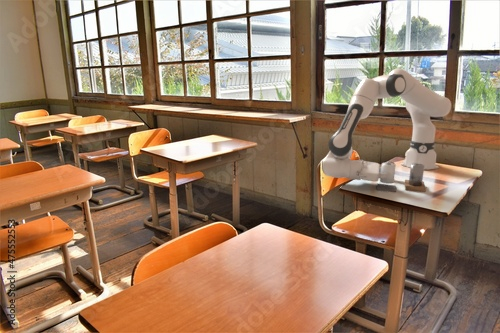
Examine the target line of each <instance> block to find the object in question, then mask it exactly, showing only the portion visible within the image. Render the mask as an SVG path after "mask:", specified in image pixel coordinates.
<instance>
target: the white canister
mask: <svg viewBox="0 0 500 333" xmlns="http://www.w3.org/2000/svg"><path fill="white" fill-rule="evenodd" d="M381 164H382V166H381V173H390V177H389V178H387V177H385V178H379V181H380V182H379V183H381V184H386V185H392V184H394V182H395V174H396V167H397V166H396V163H395V164H393V163H391V162H389V161H386V162H382V163H381Z"/></svg>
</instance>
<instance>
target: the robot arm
mask: <svg viewBox="0 0 500 333" xmlns="http://www.w3.org/2000/svg"><path fill="white" fill-rule="evenodd" d="M395 97H400V98H401V99H402V100H403V101H405V109H406V111H407V112H408V113H409V115H410V118H411V121H412V135H411V140H410V145H409V146H410V147H409V149H408V150H406V152H405V155H404V156H405V157H404V159H403V161H402V162H401V163H400V165H401V166H404V167H407V168H410V169H411V164H422V165H424V171H425V170H429V171H430V170H434V169H436V170H437V169H439V168H440V167H439V165H438V164H436V163H437V152H436V151H435V150H434V149H435V145H436V144H435V143H436V142H435V138H436V137H435V136H436V130H437V128H436V125H435V124H433V122H432V121H431V117H432V118H441V117H443V118H444V117H446V116H447V115H448V114H449V113H450V112H451V110H452V101H451V100H450V99H449V98H448V97H445V96H443V95H441V94H439V93H437V92H435V91H434V90H432V89H430V88H429V87H427V86H425V85H424V84H422V83H421V82H420V81H419V80H418V79H417V78H415V77H414V76H413V75H412V74H410V73H409V72H408V71H406V70H404V69H403V68H399V67H398V68H394V69H391V71H390V72H389V73H388V74H383V75H378V76H374V77H370V78H364V79H362V80H361V81H360V82H359V84H358V85H357V87H356V88H355V90H354V92H353V94H352V96H351V98H350V101H349V104H348V108H347V111H346V113H345V116H344V118H343V120H342V122H341V124H340V125H339V128H338V129H337V131H335V133H333V135H332V136H331V137H330V138H329V140H328V148H329V152H328V153H327V154H326V156H325V157H324V158H323V159H322V161H321V169H322V170H321V171H322V173H323V174H324V176H327V177H331V178H338V179H343V178H345V179H348V180H357V181H361V180H363V181H368V182H378V181H379V179H380V178H385V177H387V178H389V177H390V173H381V167H379V165H381V164H380V163H378V162H375V161H374V162H375V163H374V162H373V161H367V160H364V159H356V160H355V159H351V158H352V156H353V155H352V154H353V145H352V144H353V143H352V142H353V138H352V137H353V134H354V132H355V129H356V128H357V125H358V124H359V122H360V120H363V119H366V118H368V117H369V115H370V114H371V113H372V111H373V110H374V107H375V104H376V101H377V100H378V99H381V100H382V99H388V98H389V99H390V98H395Z"/></svg>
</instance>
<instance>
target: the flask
mask: <svg viewBox="0 0 500 333" xmlns="http://www.w3.org/2000/svg"><path fill="white" fill-rule="evenodd" d="M424 171H425V170H424V165H422V164H411V168H410V169H409V177H408V180H409V185H412V186H422V181H424V180H423V179H424V173H425V172H424Z"/></svg>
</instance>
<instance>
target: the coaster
mask: <svg viewBox="0 0 500 333" xmlns="http://www.w3.org/2000/svg"><path fill="white" fill-rule="evenodd" d="M376 191H383V192H390V193H391V192H392V193H396V192H397V186H396V185H393V184H387V183H377V184H376Z"/></svg>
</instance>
